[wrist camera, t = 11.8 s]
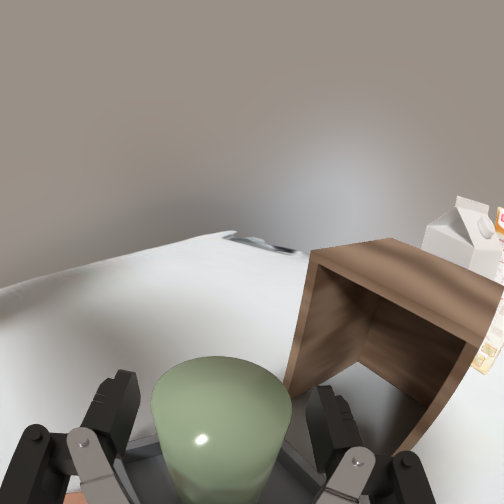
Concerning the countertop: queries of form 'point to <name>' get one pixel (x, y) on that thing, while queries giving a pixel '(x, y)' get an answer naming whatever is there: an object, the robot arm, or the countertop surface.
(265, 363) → the countertop surface
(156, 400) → the jar
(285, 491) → the tray
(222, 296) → the countertop surface
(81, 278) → the countertop surface
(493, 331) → the coffeecake box
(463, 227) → the milk carton
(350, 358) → the cabinet
